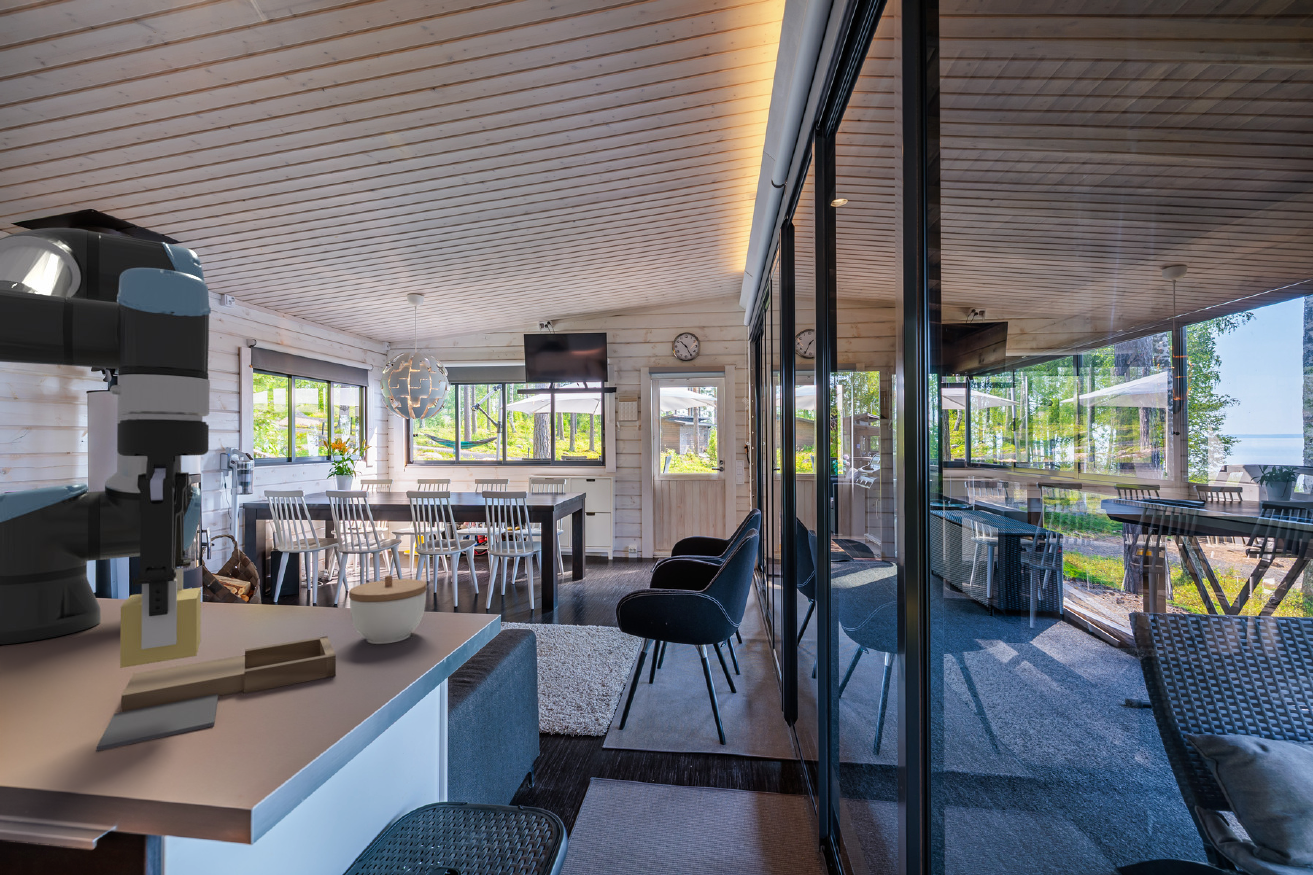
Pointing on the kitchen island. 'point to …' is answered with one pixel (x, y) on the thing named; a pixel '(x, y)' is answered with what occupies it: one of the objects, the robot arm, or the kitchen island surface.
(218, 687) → the brown tray
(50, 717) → the kitchen island surface
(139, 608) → the block
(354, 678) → the kitchen island surface
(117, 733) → the mat
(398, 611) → the lidded jar
